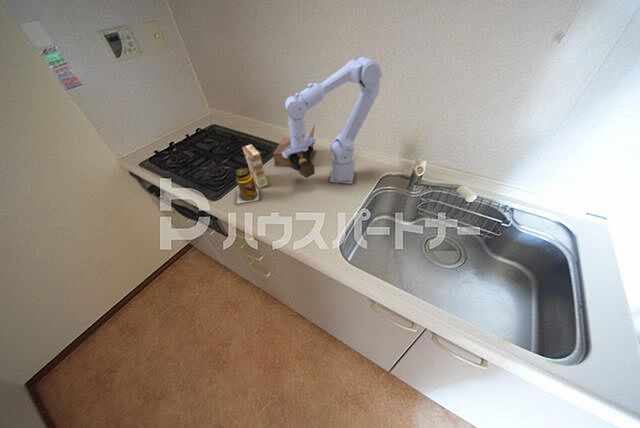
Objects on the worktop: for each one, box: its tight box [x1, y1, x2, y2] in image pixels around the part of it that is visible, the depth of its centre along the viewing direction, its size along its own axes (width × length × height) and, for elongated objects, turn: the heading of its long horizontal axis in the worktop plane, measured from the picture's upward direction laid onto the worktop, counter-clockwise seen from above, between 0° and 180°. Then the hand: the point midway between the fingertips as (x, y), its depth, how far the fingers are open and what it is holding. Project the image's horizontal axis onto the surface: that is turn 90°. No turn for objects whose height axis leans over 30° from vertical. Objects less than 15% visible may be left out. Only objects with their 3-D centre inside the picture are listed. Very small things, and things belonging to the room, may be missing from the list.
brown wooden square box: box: [272, 137, 314, 168], centre depth 113 cm, size 15×15×6 cm
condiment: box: [234, 167, 260, 204], centre depth 91 cm, size 7×8×12 cm
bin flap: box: [307, 125, 316, 139], centre depth 106 cm, size 7×15×1 cm
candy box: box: [242, 143, 269, 189], centre depth 97 cm, size 9×4×15 cm, turn 33°
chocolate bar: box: [289, 154, 316, 179], centre depth 93 cm, size 4×11×4 cm, turn 40°
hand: (301, 166), depth 93 cm, fingers closed on chocolate bar, 4 cm apart
